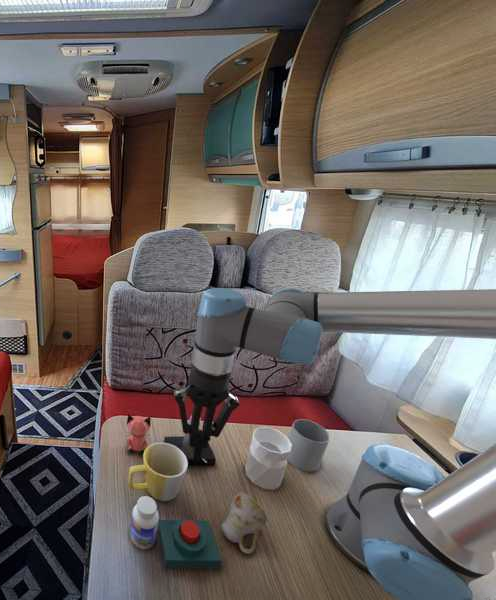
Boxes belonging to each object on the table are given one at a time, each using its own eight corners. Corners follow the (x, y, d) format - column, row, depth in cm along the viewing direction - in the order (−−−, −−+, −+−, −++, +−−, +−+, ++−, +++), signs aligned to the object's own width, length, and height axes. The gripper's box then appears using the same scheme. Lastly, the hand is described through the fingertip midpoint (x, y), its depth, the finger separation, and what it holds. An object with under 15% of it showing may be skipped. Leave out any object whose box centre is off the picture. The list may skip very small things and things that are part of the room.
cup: (326, 472, 86) (337, 443, 83) (294, 471, 87) (304, 442, 83) (307, 447, 94) (316, 419, 91) (278, 446, 94) (286, 418, 91)
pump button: (195, 525, 69) (196, 520, 68) (200, 543, 66) (201, 538, 65) (178, 525, 69) (179, 520, 68) (182, 543, 66) (183, 538, 65)
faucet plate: (202, 439, 96) (204, 432, 95) (216, 470, 86) (218, 462, 85) (162, 439, 96) (163, 432, 95) (171, 470, 86) (172, 463, 85)
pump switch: (206, 526, 72) (209, 514, 71) (219, 567, 65) (223, 554, 64) (157, 526, 72) (159, 514, 71) (164, 567, 65) (166, 554, 63)
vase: (287, 479, 84) (299, 443, 80) (269, 496, 80) (280, 459, 75) (255, 456, 91) (264, 422, 87) (237, 471, 86) (245, 435, 82)
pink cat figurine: (123, 456, 90) (125, 422, 85) (124, 438, 96) (127, 405, 92) (149, 460, 89) (152, 425, 85) (148, 441, 95) (152, 408, 91)
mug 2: (209, 531, 72) (221, 486, 72) (236, 529, 77) (247, 486, 77) (239, 557, 65) (252, 507, 66) (266, 553, 70) (278, 506, 71)
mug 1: (177, 473, 85) (182, 442, 81) (187, 510, 76) (192, 478, 72) (125, 471, 85) (127, 440, 82) (128, 509, 76) (130, 476, 72)
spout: (187, 435, 94) (191, 414, 91) (197, 439, 93) (200, 417, 90) (180, 455, 88) (184, 432, 85) (190, 459, 86) (194, 436, 84)
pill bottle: (126, 542, 69) (129, 511, 65) (134, 519, 74) (137, 488, 70) (152, 554, 67) (156, 522, 63) (158, 530, 72) (162, 498, 68)
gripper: (241, 359, 67) (222, 447, 75) (175, 353, 68) (165, 440, 77) (251, 380, 60) (229, 475, 68) (178, 373, 61) (166, 466, 70)
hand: (195, 456), depth 73 cm, fingers closed
